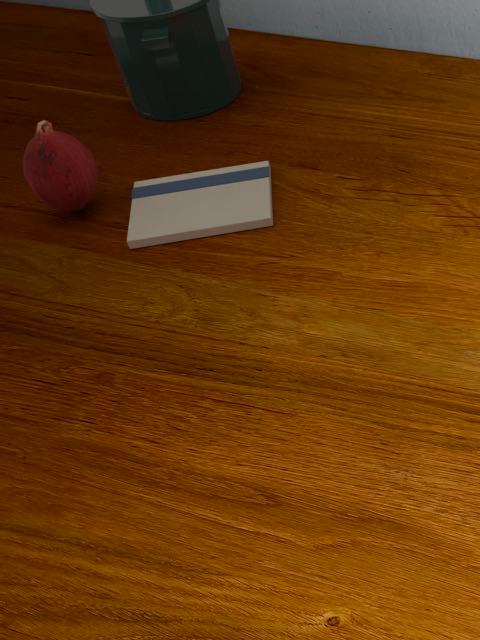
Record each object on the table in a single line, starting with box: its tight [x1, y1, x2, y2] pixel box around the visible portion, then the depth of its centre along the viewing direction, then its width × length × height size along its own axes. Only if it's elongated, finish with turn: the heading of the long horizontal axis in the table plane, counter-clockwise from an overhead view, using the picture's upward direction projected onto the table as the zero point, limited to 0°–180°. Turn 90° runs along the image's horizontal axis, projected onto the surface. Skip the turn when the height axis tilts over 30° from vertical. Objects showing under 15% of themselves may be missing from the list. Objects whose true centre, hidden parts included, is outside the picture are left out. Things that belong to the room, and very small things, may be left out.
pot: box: [99, 0, 243, 122], centre depth 103 cm, size 11×16×10 cm
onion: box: [22, 119, 100, 212], centre depth 90 cm, size 6×6×8 cm
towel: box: [126, 160, 274, 250], centre depth 91 cm, size 12×10×1 cm
